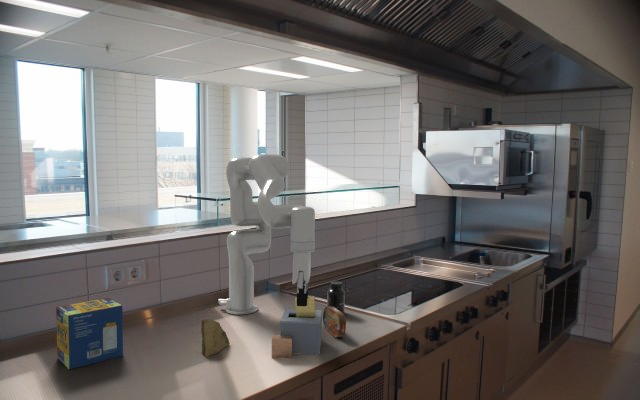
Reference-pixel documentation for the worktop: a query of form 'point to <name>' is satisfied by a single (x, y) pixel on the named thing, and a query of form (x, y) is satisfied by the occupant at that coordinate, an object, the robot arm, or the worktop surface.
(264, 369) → the worktop surface
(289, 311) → the blue-grey block with hole
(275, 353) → the brown wooden square slab
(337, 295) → the supplement bottle
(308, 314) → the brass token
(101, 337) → the protein box
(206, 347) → the rock
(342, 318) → the tin
